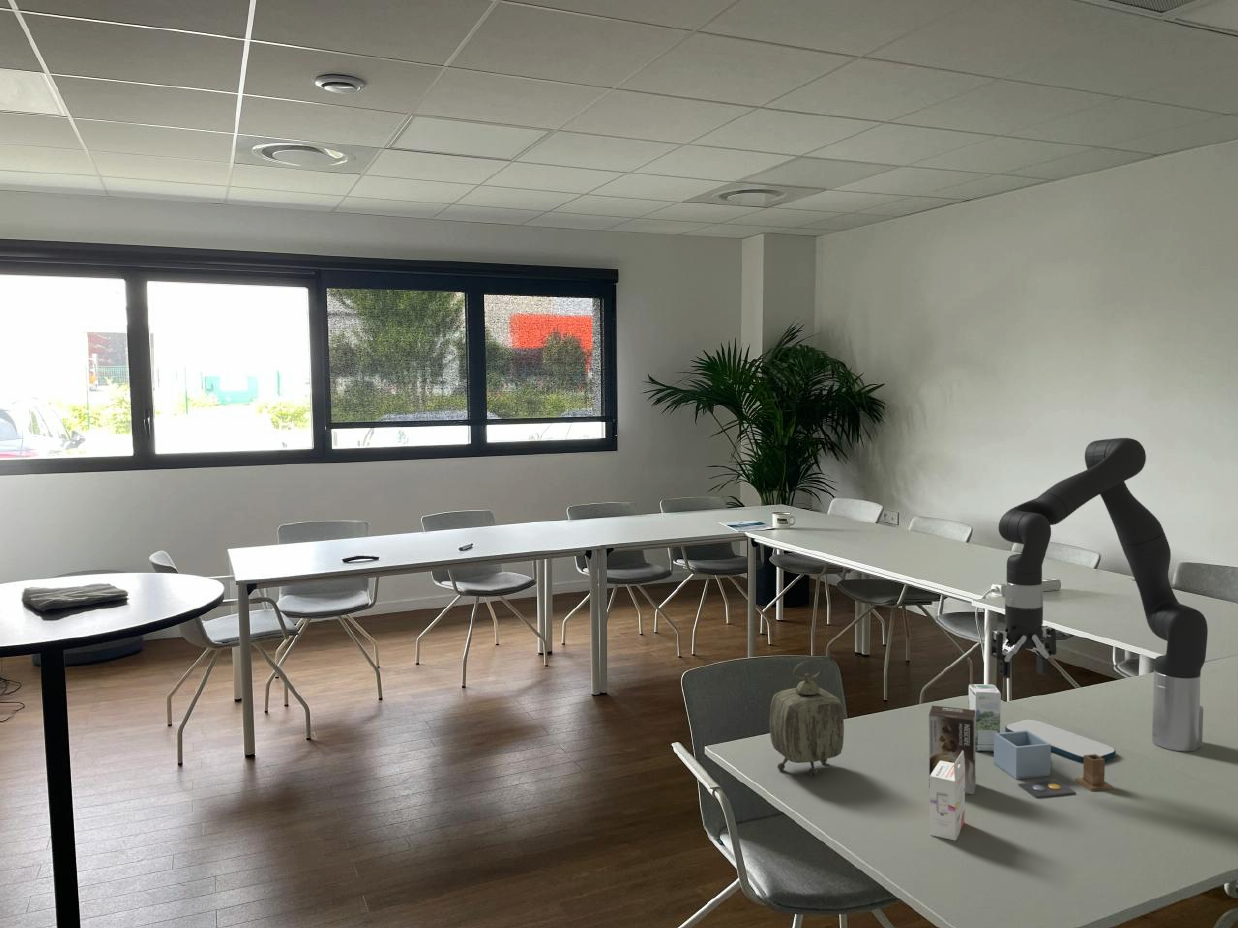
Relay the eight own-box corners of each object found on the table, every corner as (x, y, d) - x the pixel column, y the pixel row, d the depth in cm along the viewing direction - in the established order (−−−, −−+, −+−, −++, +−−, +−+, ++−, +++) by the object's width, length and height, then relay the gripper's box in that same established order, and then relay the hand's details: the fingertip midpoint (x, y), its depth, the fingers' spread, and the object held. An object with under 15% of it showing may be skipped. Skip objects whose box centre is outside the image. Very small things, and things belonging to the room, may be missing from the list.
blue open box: (1026, 760, 200) (1027, 730, 200) (1050, 775, 192) (1050, 744, 192) (993, 763, 199) (994, 733, 198) (1016, 779, 191) (1016, 747, 190)
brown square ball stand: (1095, 778, 190) (1096, 751, 190) (1112, 788, 186) (1113, 760, 185) (1075, 780, 190) (1075, 753, 189) (1091, 790, 185) (1091, 763, 184)
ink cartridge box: (938, 816, 175) (939, 744, 174) (965, 822, 172) (966, 749, 171) (928, 835, 168) (929, 759, 167) (956, 841, 165) (956, 765, 164)
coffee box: (976, 782, 190) (976, 709, 188) (974, 795, 184) (975, 719, 182) (931, 776, 193) (931, 704, 192) (928, 788, 188) (928, 713, 186)
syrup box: (992, 742, 211) (993, 683, 210) (1000, 752, 205) (1001, 691, 204) (967, 742, 212) (968, 682, 210) (974, 752, 206) (975, 691, 205)
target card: (1056, 781, 189) (1056, 778, 189) (1075, 793, 183) (1075, 791, 183) (1018, 785, 188) (1018, 782, 188) (1036, 797, 182) (1036, 795, 182)
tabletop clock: (826, 759, 203) (826, 652, 201) (848, 775, 195) (848, 663, 193) (769, 768, 199) (769, 659, 197) (789, 785, 190) (788, 671, 188)
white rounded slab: (1121, 758, 202) (1121, 749, 202) (1089, 769, 196) (1090, 760, 196) (1030, 725, 223) (1030, 717, 222) (999, 734, 217) (999, 726, 217)
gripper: (1042, 596, 198) (1041, 668, 199) (984, 601, 195) (983, 673, 196) (1064, 604, 190) (1063, 678, 191) (1004, 609, 188) (1003, 683, 189)
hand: (1023, 675), depth 194 cm, fingers open, 8 cm apart
